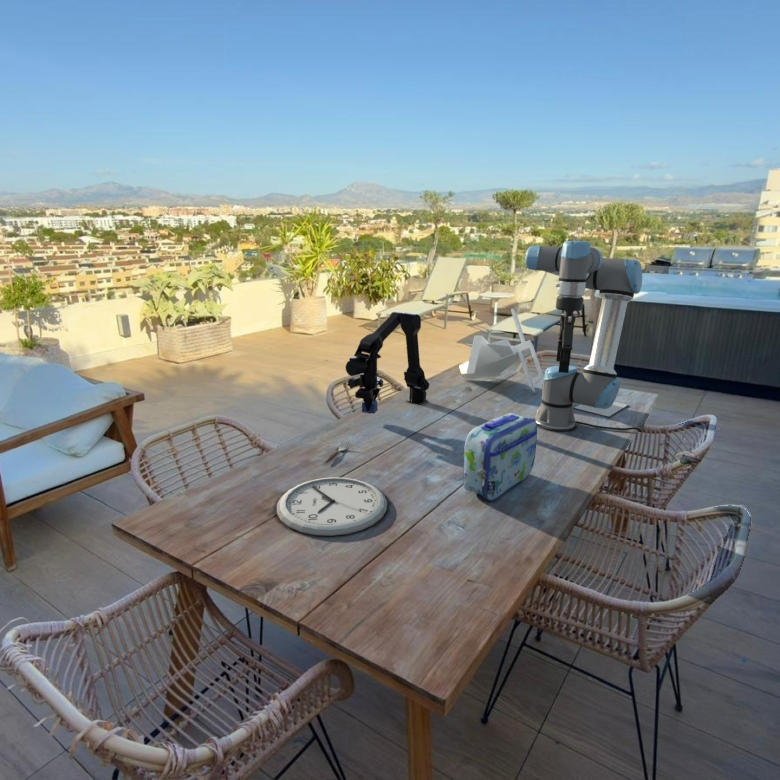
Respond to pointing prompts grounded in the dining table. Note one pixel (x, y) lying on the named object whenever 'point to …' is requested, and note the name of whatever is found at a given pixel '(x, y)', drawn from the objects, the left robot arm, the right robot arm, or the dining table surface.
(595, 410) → the invitation card
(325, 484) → the wall clock
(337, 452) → the fork
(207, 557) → the dining table surface
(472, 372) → the white plastic object
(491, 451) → the lunch box
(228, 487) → the dining table surface
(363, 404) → the brick
